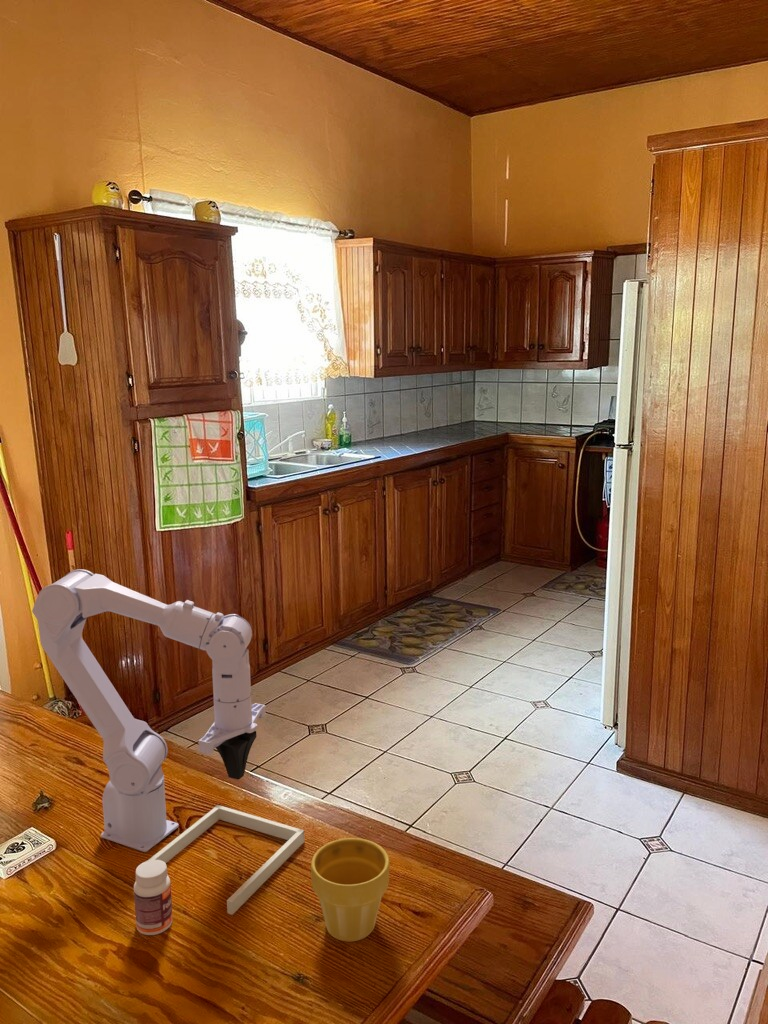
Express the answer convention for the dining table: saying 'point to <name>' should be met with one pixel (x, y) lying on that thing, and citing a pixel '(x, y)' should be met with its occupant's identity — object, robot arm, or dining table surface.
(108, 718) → the robot arm
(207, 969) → the dining table surface
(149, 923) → the pill bottle
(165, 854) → the white u-shaped open frame
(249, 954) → the dining table surface
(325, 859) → the plant pot
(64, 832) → the dining table surface
